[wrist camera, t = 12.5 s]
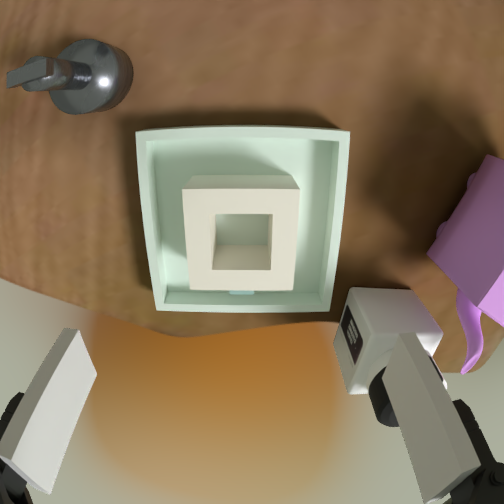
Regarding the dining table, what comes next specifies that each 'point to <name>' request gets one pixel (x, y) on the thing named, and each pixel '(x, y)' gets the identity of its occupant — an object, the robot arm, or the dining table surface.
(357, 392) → the container
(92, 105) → the dark grey stemmed piece
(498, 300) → the teapot
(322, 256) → the tray
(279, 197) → the cream square-holed block
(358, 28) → the dining table surface
